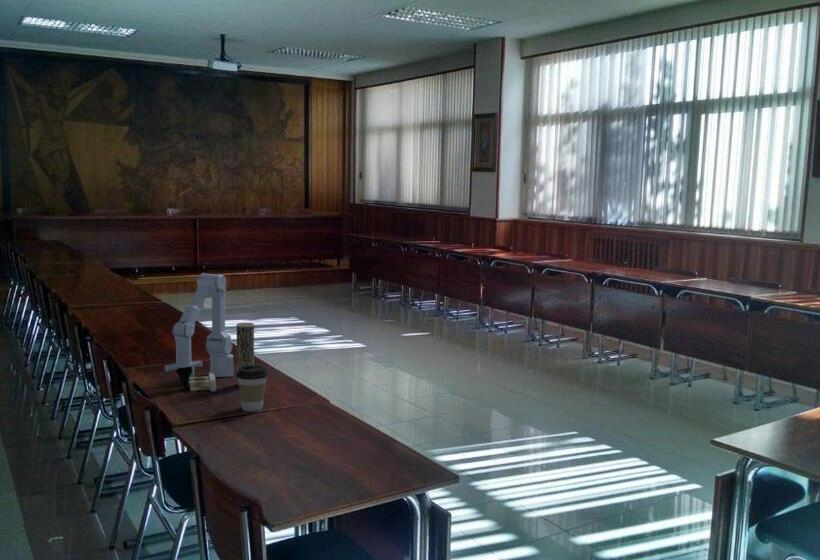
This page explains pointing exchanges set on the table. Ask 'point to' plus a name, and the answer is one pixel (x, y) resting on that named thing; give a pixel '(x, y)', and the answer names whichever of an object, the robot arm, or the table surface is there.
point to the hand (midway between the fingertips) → (184, 386)
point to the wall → (212, 382)
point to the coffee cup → (252, 387)
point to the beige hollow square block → (199, 383)
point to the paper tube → (245, 345)
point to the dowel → (191, 375)
